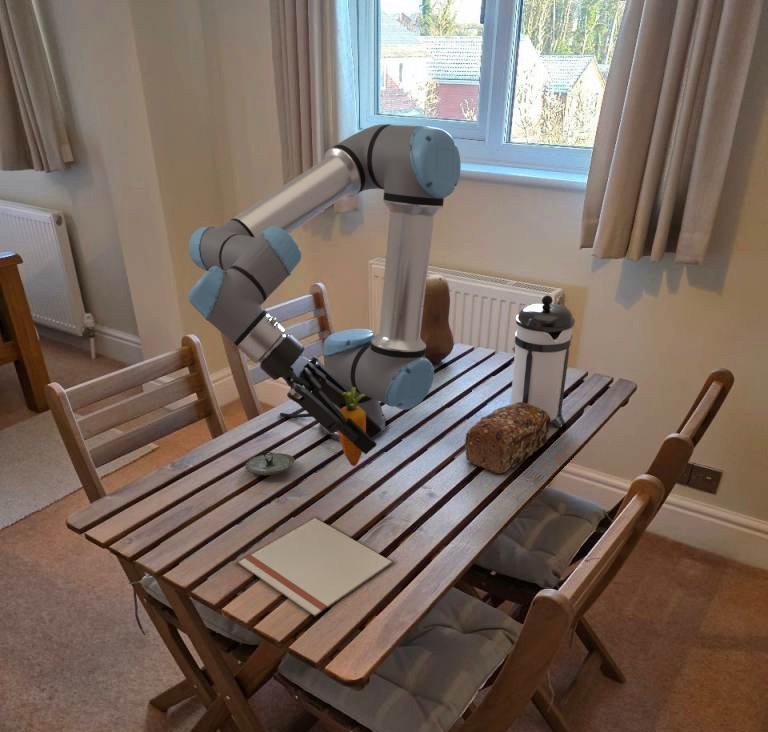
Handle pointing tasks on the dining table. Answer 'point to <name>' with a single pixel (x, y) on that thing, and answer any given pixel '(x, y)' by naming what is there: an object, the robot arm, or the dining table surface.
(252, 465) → the lid
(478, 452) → the bread
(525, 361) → the coffee press
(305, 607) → the napkin
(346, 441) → the carrot
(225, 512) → the dining table surface
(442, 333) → the butternut squash
